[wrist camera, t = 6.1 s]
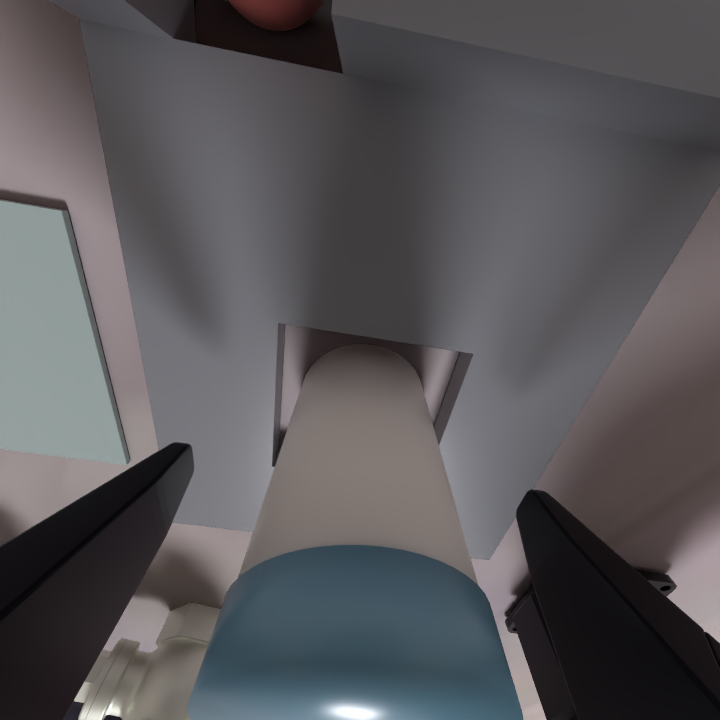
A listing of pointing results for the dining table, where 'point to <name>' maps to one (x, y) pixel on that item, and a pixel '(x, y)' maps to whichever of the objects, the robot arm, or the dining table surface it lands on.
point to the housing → (401, 215)
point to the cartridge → (357, 570)
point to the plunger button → (277, 12)
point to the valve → (151, 671)
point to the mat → (51, 344)
